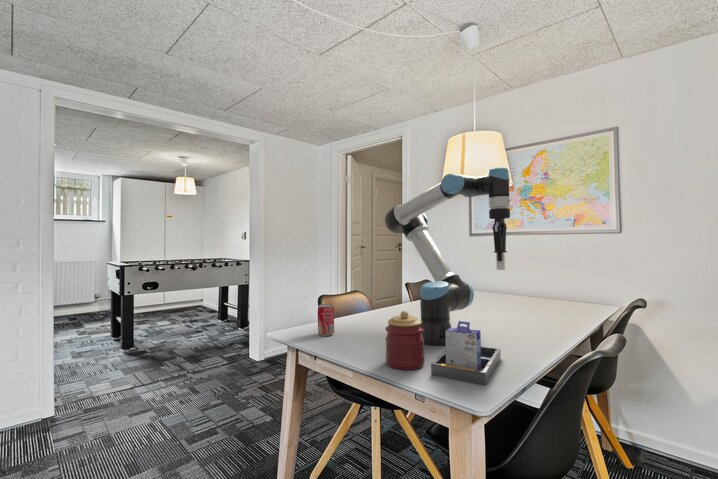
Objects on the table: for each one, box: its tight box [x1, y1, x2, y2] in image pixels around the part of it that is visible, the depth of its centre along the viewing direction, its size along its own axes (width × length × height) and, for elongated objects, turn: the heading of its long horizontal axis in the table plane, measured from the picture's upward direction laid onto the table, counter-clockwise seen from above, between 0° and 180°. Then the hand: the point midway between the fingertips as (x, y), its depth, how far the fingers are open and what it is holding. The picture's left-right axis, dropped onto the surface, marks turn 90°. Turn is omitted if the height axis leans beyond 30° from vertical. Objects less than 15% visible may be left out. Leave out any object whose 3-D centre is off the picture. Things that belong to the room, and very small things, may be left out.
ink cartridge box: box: [445, 320, 482, 371], centre depth 111 cm, size 10×6×14 cm, turn 60°
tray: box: [430, 345, 502, 386], centre depth 116 cm, size 16×25×4 cm, turn 149°
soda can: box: [317, 303, 335, 337], centre depth 157 cm, size 7×7×13 cm
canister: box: [385, 310, 426, 371], centre depth 120 cm, size 13×13×18 cm
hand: (500, 269), depth 138 cm, fingers closed
